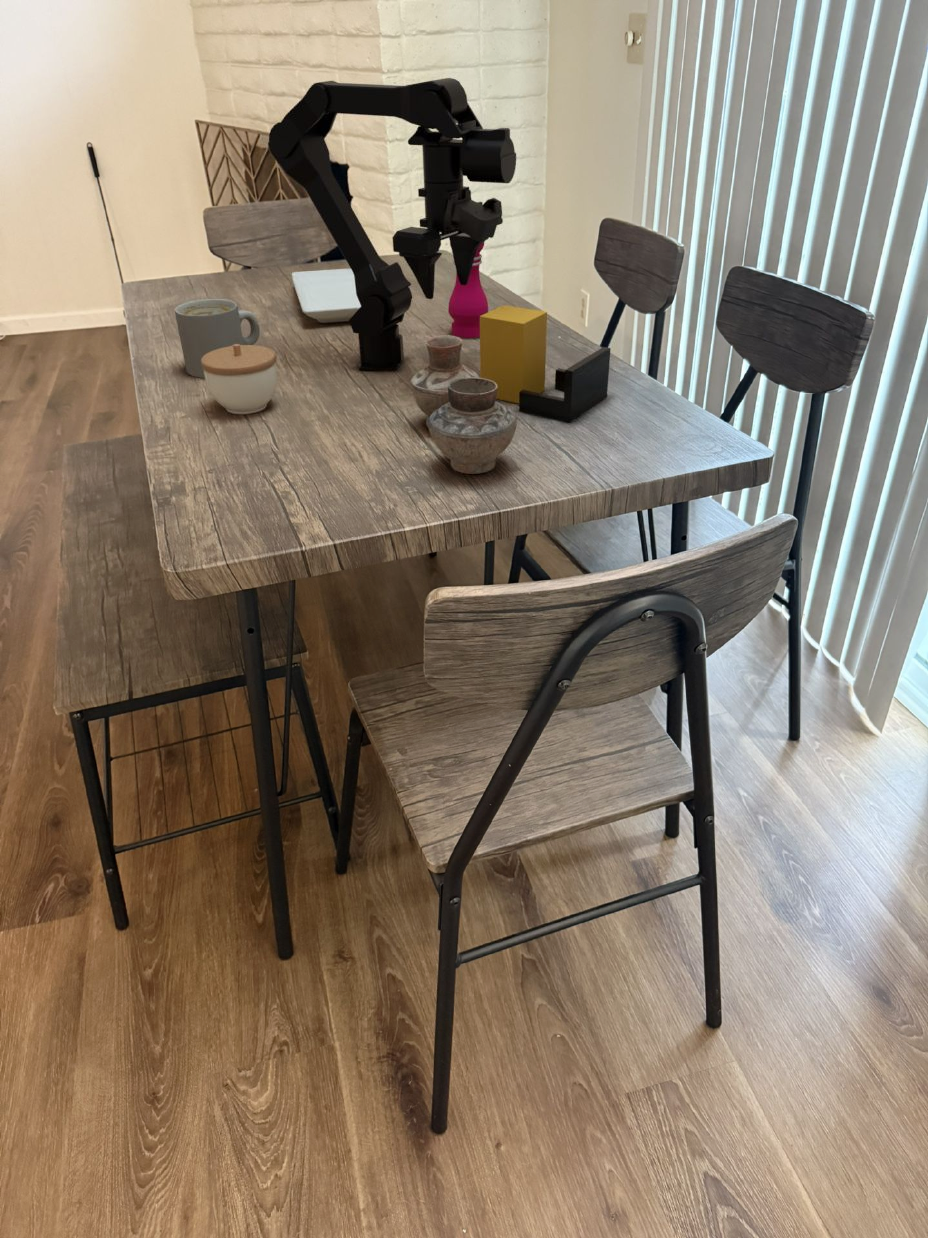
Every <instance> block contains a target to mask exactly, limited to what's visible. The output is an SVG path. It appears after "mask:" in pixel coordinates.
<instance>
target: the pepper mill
mask: <svg viewBox="0 0 928 1238" xmlns="http://www.w3.org/2000/svg"><path fill="white" fill-rule="evenodd" d="M485 242H486V241H484V242H483V243H482V244H481V245H480V246H479V247H478V249H477V252H476V255H475V258H474V261H473V265H472V268H471V272H470V275H469V279H468V283H467V285H461V284H460V282H459V279H458V275H457V271H456V270H455V275H456V276H455V282H454V286H453V289H452V293H451V295H450V297H449V301H448V307H447V308H448V315H449V316H450V317H451V319H452V320H453V321H452V322H451V324H450V325H451V327H450V328H451V335H452V336H456V337H459V338H461V339H474V338H480V316H481V315H484V314H486V313H488V312H489V302H488V298H487V296H486V293H485V291H484V289H483V286H482V283H481V282H482V281H481V278H480V277H481V276H480V265H482V263H483V261H482V258H483V255H482V254H481V251H482V250H483V249H484V247H485ZM449 246H450V247H451V244H450V243H449ZM452 258H453V259H454V257H453V256H452ZM452 264H453V265H455V262H454V261H453V262H452Z"/></svg>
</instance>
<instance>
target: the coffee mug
mask: <svg viewBox="0 0 928 1238" xmlns="http://www.w3.org/2000/svg"><path fill="white" fill-rule="evenodd" d="M174 315H175V320H176V325H177V331H178V335H179V339H180V345H181V350H182V355H183V360H184V365H185V371H186V373H187V374H188V375H190V376H192V377H195V378H201V379H205V375H204V370H203V368H202V364H201V359H202V357H203V356H204V355H205V354H207V353H209V352H211V351H214V350H216V349H220V348H224V347H229V346H233V345H234V344H240V345H256V343H257V342H258V340H259V338H260V323H259V320H258V318H257V316H256V314H254V313H253V312H252V311H250V310H247V309H243V310H239V306H238V304H237V302H236V301H233V300H230V299H225V298H224V299H223V298H204V299H196V300H191V301H186V302H184V303H181V304H179V305H176V307H175V308H174ZM243 320H247V321H248V323H249V327H250V333H249V335H248V336H247V337H244V335H243V332H242V322H243Z"/></svg>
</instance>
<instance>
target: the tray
mask: <svg viewBox="0 0 928 1238" xmlns="http://www.w3.org/2000/svg"><path fill="white" fill-rule="evenodd" d="M291 279H292V283H293V286H294V289H295V293H296V295H297V298H298V299H297V300H298V301H299V305H300V308H301V312H302V313H304V314H305V315H306V316H308V317H310V318H312V319H314V320H317V322H318V323H321V324H328V323H340V322H342V323H343V322H349V320H350V318H351V317H352V316H353V315H354V314H355V313H356V312H357V310H358V309H359V308H360V307H361V305H360V302H359V300H358V297H357V295H356V288H355V278H354V274H353V272H352V270H351V268H338V269H321V270H308V271H307V270H305V271H294V272H292V273H291Z"/></svg>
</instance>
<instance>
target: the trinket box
mask: <svg viewBox="0 0 928 1238" xmlns="http://www.w3.org/2000/svg"><path fill="white" fill-rule="evenodd" d="M201 364H202V368H203V370H204V375H205V378H204V380H205V382H206V386H207V388H208V390H209V393H210V395H211V396H212V398H213V399H214V400H215V401H216V402H217V404H219V405H220V406H222V407H223V408H225V410H226V411H227V412H228V413H230V414H234V415H249V414H254V413H258V412H261V411H263V410H265V409H266V408H267V407H268V403H269V402H271V400H272V398H273V397H274V395H275V393H276V390H277V383H278V369H277V356H276V352H275V351H274V350H273V349H271V348H269V347H267V346H262V345H258V344H257V345H256V344H253V345H240V344H234V345H233V346H229V347H224V348H220V349H216V350H214V351H211V352H209V353H207V354H205V355H204V356H203V357H202V359H201Z"/></svg>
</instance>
